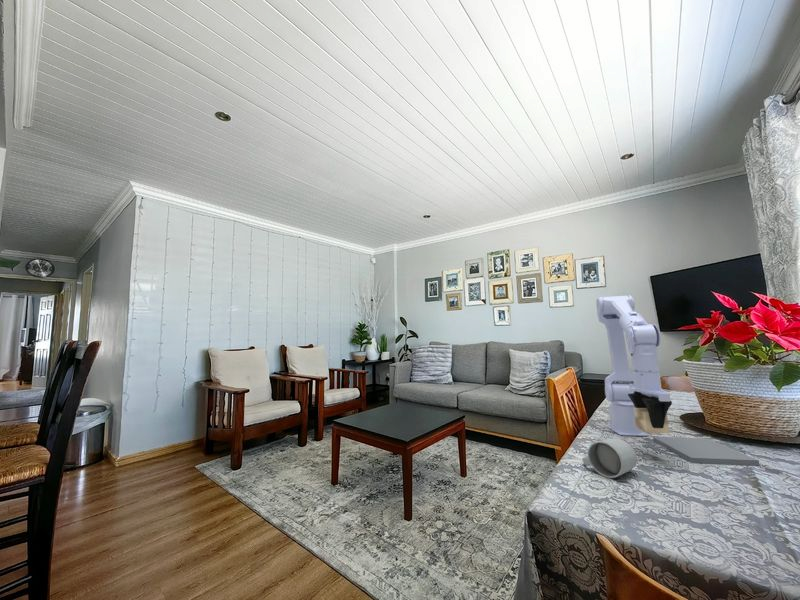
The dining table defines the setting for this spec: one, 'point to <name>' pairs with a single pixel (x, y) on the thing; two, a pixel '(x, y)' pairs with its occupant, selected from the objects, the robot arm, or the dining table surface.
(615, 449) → the ceramic mug
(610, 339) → the robot arm
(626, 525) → the dining table surface
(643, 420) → the maple block
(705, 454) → the slate board
